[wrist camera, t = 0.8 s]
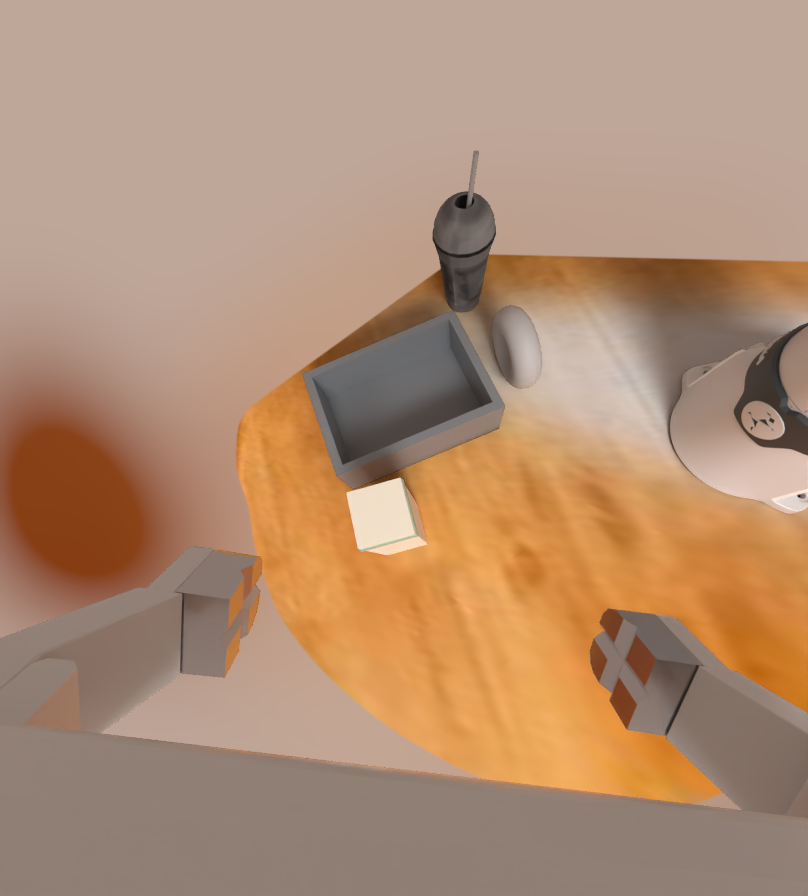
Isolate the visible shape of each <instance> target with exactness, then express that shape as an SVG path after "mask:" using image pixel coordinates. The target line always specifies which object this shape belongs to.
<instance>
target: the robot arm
mask: <svg viewBox="0 0 808 896" xmlns="http://www.w3.org/2000/svg"><path fill="white" fill-rule="evenodd" d="M704 373H705V374H704ZM670 434H671V439H672V443H673V446H674V448H675V451H676V453H677V454H678V456H679V458H680V459H681V461H682V462H683V464H684V465H685V466H686V467H687V468H688V469H689V470H690V472H692V473H693V474H694V475H695V476H696V477H697V478H698V479H700V480H701V481H703V482H704V483H706V484H707V485H709V486H711V487H712V488H714V489H717V490H719V491H721V492H724V493H727V494H730V495H733V496H738V497H743V498H750V499H755V500H759V501H762V502H764V503H765V504H767V505H769V506H771V507H773V508H775V509H777V510H779V511H782V512H785V513H796V512H799V511H802V510H804V509H805V508H807V507H808V323H806V324H803V325H801V326H799V327H797V328H796V329H794V330H792V331H790V332H788V333H787V334H784V335H782V336H779V337H777V338H775V339H773V340H772V341H770V342H769V343H768V344H767V346H765V345H764V344H763V343H762V342H760V343H757V344H754V345H752V346H750V347H749V348H748V349H747V350H744V349H741V350H739V351H737V352H735V353H734V354H732V355H731V356H729V357H728V358H726V359H725V360H723V361H719V362H714V363H710V364H705V365H700V366H696V367H693V368H691V369H689V370H688V371H686V372H685V373H684V374H683V377H682V394H681V397H680V399H679V401H678V402H677V404H676V406H675V408H674V410H673V412H672V416H671V421H670ZM798 494H800V497H801V498H799V497H798V496H797V495H798ZM261 574H262V559H261V557H259V556H253V555H248V554H242V553H236V552H230V551H223V550H216V549H212V548H205V547H197V546H194V547H190V548H188V549H187V550H186V551H185V552H184V553H183V554H182V555H181V556H180V557H179V558H178V559H177V560H176V561H175V562H174V563H173V564H171V565H170V566H169V567H168V569H166V570H165V571H164V572H163V573H162V574H161V575H160V576H159V577H158V578H157V579H156V580H155V581H154V582H153V583H152V584H151V585H150V586H148V587H147V588H136V589H133V590H131V591H128V592H125V593H122V594H120V595H117V596H114V597H111V598H109V599H106V600H103V601H101V602H98V603H95V604H92V605H90V606H87V607H84V608H81V609H79V610H76V611H73V612H70V613H68V614H65V615H62V616H60V617H57V618H54V619H51V620H49V621H46V622H43V623H40V624H38V625H35V626H32V627H29V628H27V629H24V630H21V631H19V632H16V633H13V634H10V635H8V636H5V637H2V638H0V896H808V713H806V712H805V711H803V710H801V709H800V708H798V707H796V706H794V705H793V704H791V703H789V702H788V701H786V700H784V699H783V698H781V697H779V696H777V695H776V694H774V693H772V692H771V691H769V690H767V689H766V688H764V687H762V686H760V685H759V684H757V683H755V682H754V681H752V680H750V679H749V678H747V677H745V676H743V675H742V674H740V673H738V672H737V671H731V670H729V669H728V668H727V667H726V666H725V665H724V664H723V663H722V662H721V661H720V660H719V659H718V658H717V657H716V656H715V655H714V654H713V653H711V652H710V651H709V650H708V649H707V648H706V647H705V646H704V645H703V644H702V643H701V642H700V641H699V640H698V639H697V638H696V637H695V636H694V635H693V634H692V633H691V632H690V631H689V630H688V629H687V628H686V627H685V626H684V625H683V624H682V623H681V622H680V621H679V620H678V619H676V618H674V617H672V616H669V615H660V614H651V613H649V614H648V613H640V612H632V611H624V610H616V609H607V610H606V611H605V612H604V613H603V615H602V617H601V620H600V625H601V628H602V630H603V632H601V633H600V634H599V635H597V636H596V637H595V638H594V639H593V642H592V646H591V649H590V662H591V666H592V669H593V673H594V675H595V676H596V678H597V680H598V682H599V683H600V684H601V685H602V686H604V687H605V688H606V689H607V690H608V691H610V692H611V695H610V702H611V704H612V706H613V707H614V709H615V711H616V712H617V714H618V716H619V717H620V719H621V721H622V722H623V724H624V726H625V728H626V729H627V730H632V731H638V732H644V733H650V734H656V735H663V736H667V737H666V739H667V740H668V741H669V742H671V743H672V744H673V745H674V746H675V747H676V748H677V749H678V750H679V751H680V752H681V753H682V754H683V755H684V756H685V757H686V758H687V759H688V760H689V761H691V762H692V763H693V764H694V765H695V766H696V767H697V768H698V769H699V770H700V771H701V772H702V773H703V774H704V775H705V776H706V777H707V778H708V779H709V780H711V781H712V782H713V783H714V784H715V785H716V786H717V787H718V788H719V789H720V790H721V791H722V792H723V793H724V794H725V795H726V796H727V797H728V798H729V799H731V800H732V801H733V802H734V803H735V804H736V805H737V806H738V807H739V808H740V809H741V810H735V809H726V808H718V807H709V806H701V805H693V804H685V803H677V802H669V801H660V800H652V799H644V798H636V797H628V796H619V795H611V794H603V793H595V792H587V791H578V790H570V789H562V788H553V787H545V786H537V785H528V784H520V783H511V782H503V781H494V780H486V779H478V778H469V777H460V776H452V775H444V774H435V773H427V772H418V771H410V770H400V769H393V768H385V767H376V766H368V765H359V764H351V763H342V762H334V761H326V760H317V759H309V758H301V757H293V756H284V755H275V754H267V753H258V752H251V751H242V750H234V749H226V748H217V747H209V746H200V745H192V744H183V743H175V742H166V741H159V740H150V739H142V738H133V737H125V736H117V735H108V734H100V733H102V732H103V731H104V730H106V729H107V728H109V727H110V726H111V725H113V724H114V723H115V722H117V721H118V720H120V719H121V718H122V717H124V716H125V715H126V714H128V713H129V712H131V711H132V710H133V709H135V708H136V707H138V706H139V705H140V704H142V703H143V702H144V701H146V700H147V699H148V698H150V697H151V696H153V695H154V694H156V693H157V692H158V691H160V690H161V689H163V688H164V687H165V686H167V685H168V684H169V683H171V682H172V681H173V680H175V679H176V678H178V677H179V676H180V673H183V674H193V675H203V676H213V677H223V678H225V676H226V674H227V672H228V671H229V669H230V667H231V665H232V663H233V661H234V659H235V657H236V656H237V654H238V652H239V644H240V643H239V642H240V639H241V638H243V637H245V636H246V635H248V633H249V631H250V629H251V626H252V625H253V622H254V619H255V616H256V613H257V609H258V604H259V597H260V590H259V589H258V587H257V585H256V583H257V581H258V579H259V577H260V576H261Z"/></svg>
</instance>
